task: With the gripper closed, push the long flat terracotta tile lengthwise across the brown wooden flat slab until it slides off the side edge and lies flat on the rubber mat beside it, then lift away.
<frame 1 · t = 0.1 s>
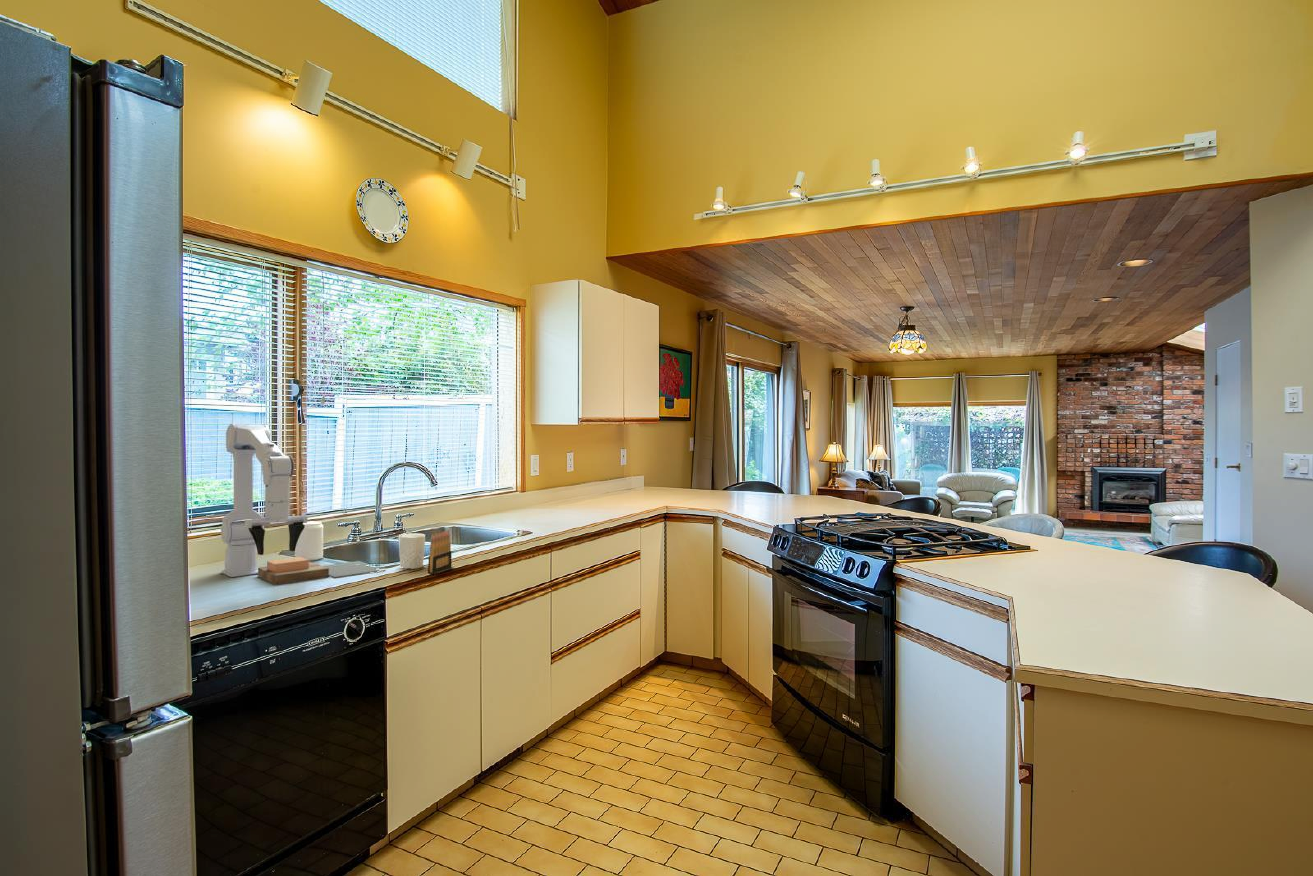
hand: (276, 552, 174), 10 cm above the worktop, fingers open, 7 cm apart
white cup: (411, 567, 207), on the worktop
mat: (347, 569, 200), on the worktop
beverage can: (309, 559, 215), on the worktop
ammunition clip: (440, 570, 203), on the worktop
brown wooden flat slab: (293, 576, 190), on the worktop
tile: (288, 564, 189), point 4 cm above the worktop, touching brown wooden flat slab
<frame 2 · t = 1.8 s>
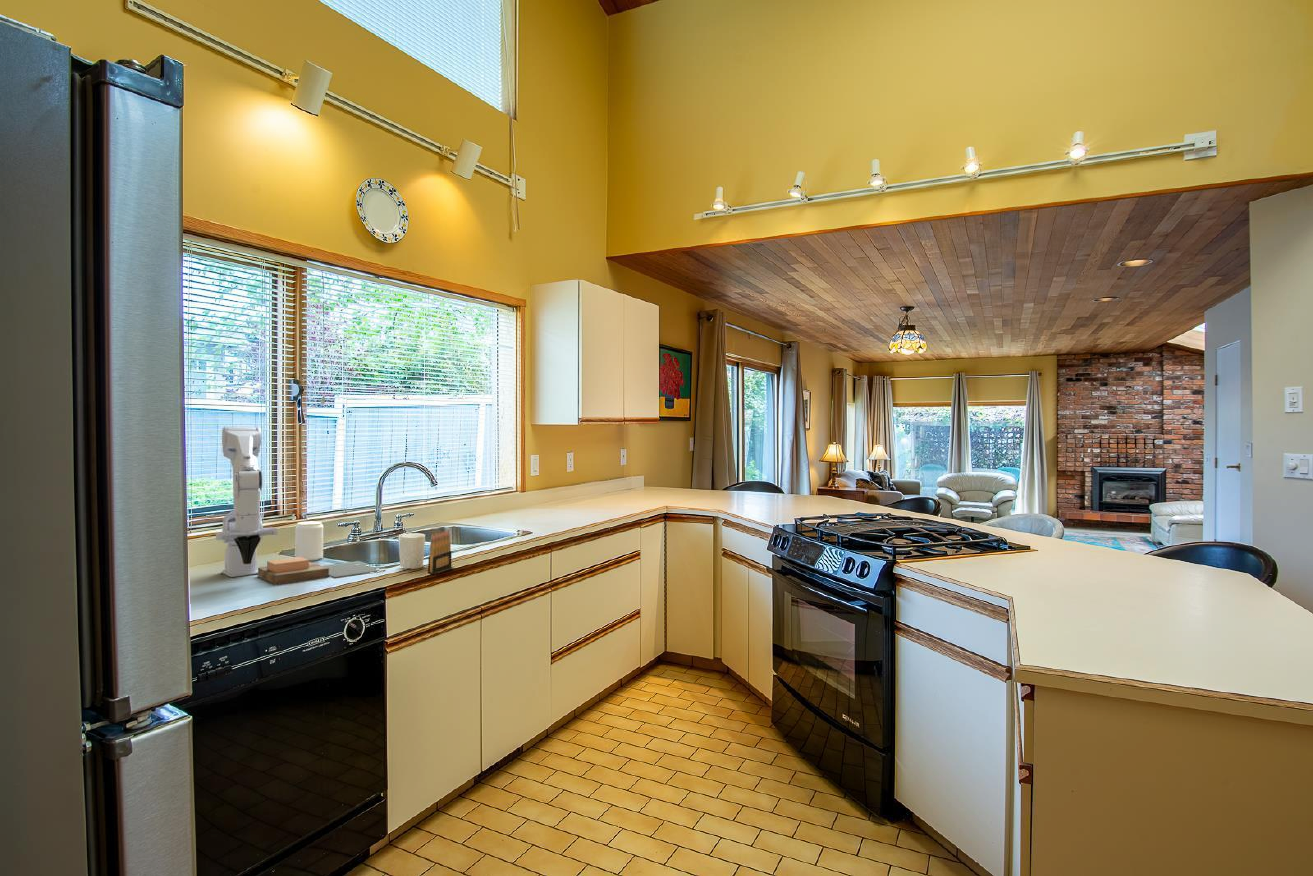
hand: (247, 563, 181), 5 cm above the worktop, fingers closed
nothing on the worktop moved.
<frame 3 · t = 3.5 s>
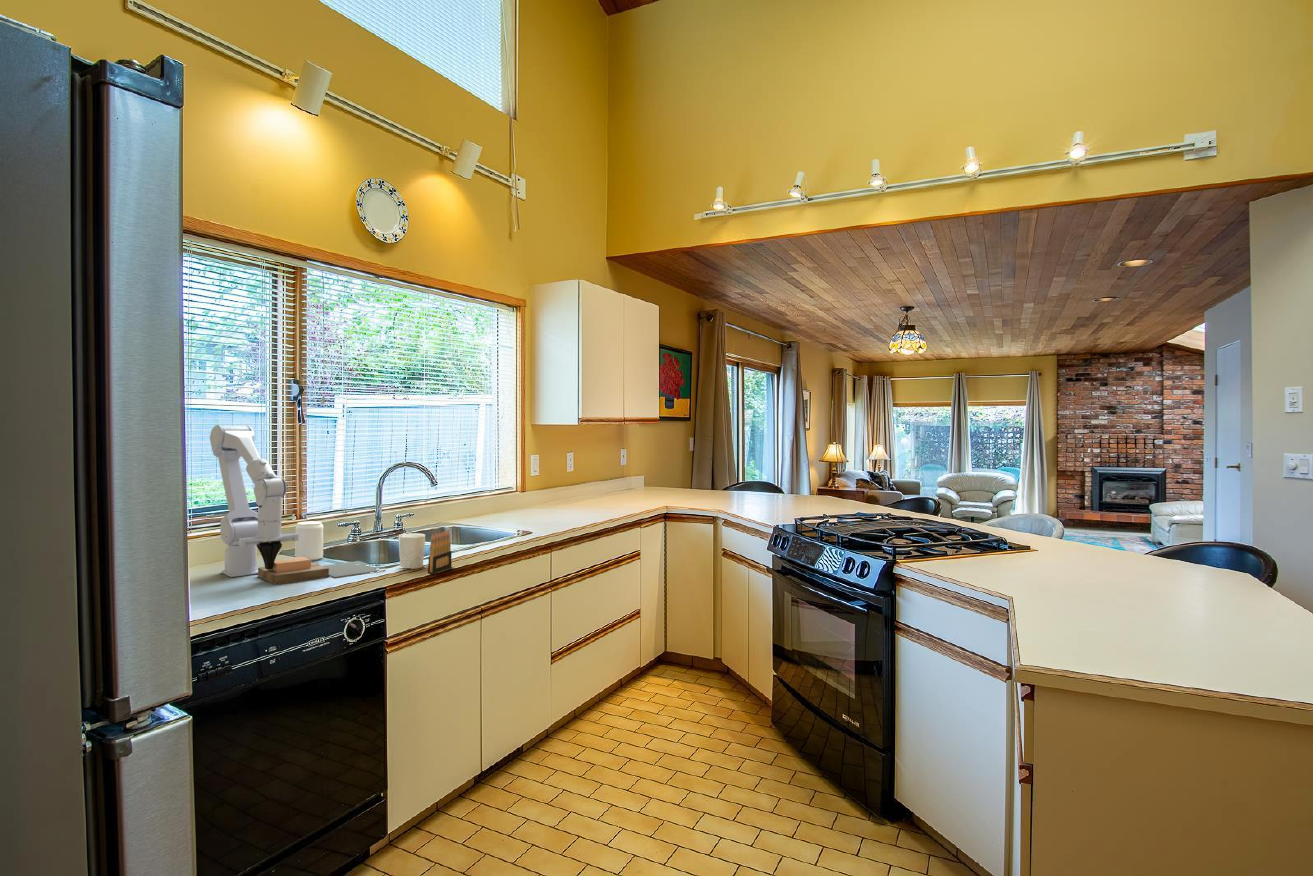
hand: (268, 568, 185), 3 cm above the worktop, fingers closed
tile: (290, 564, 189), point 4 cm above the worktop, touching brown wooden flat slab, gripper
everything else where it was.
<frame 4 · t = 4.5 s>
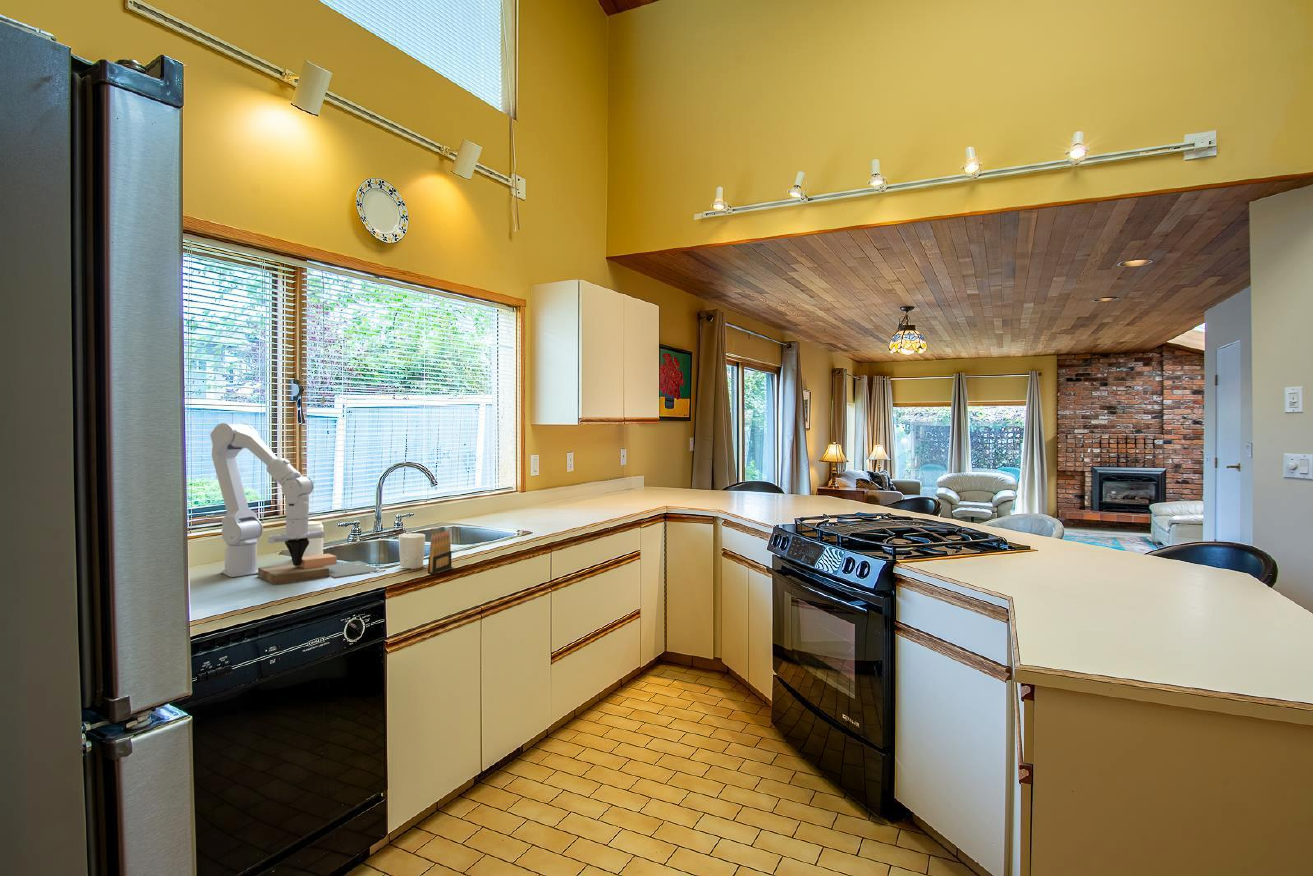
hand: (296, 565, 190), 3 cm above the worktop, fingers closed
tile: (316, 560, 195), point 4 cm above the worktop, touching brown wooden flat slab, gripper
everything else where it was.
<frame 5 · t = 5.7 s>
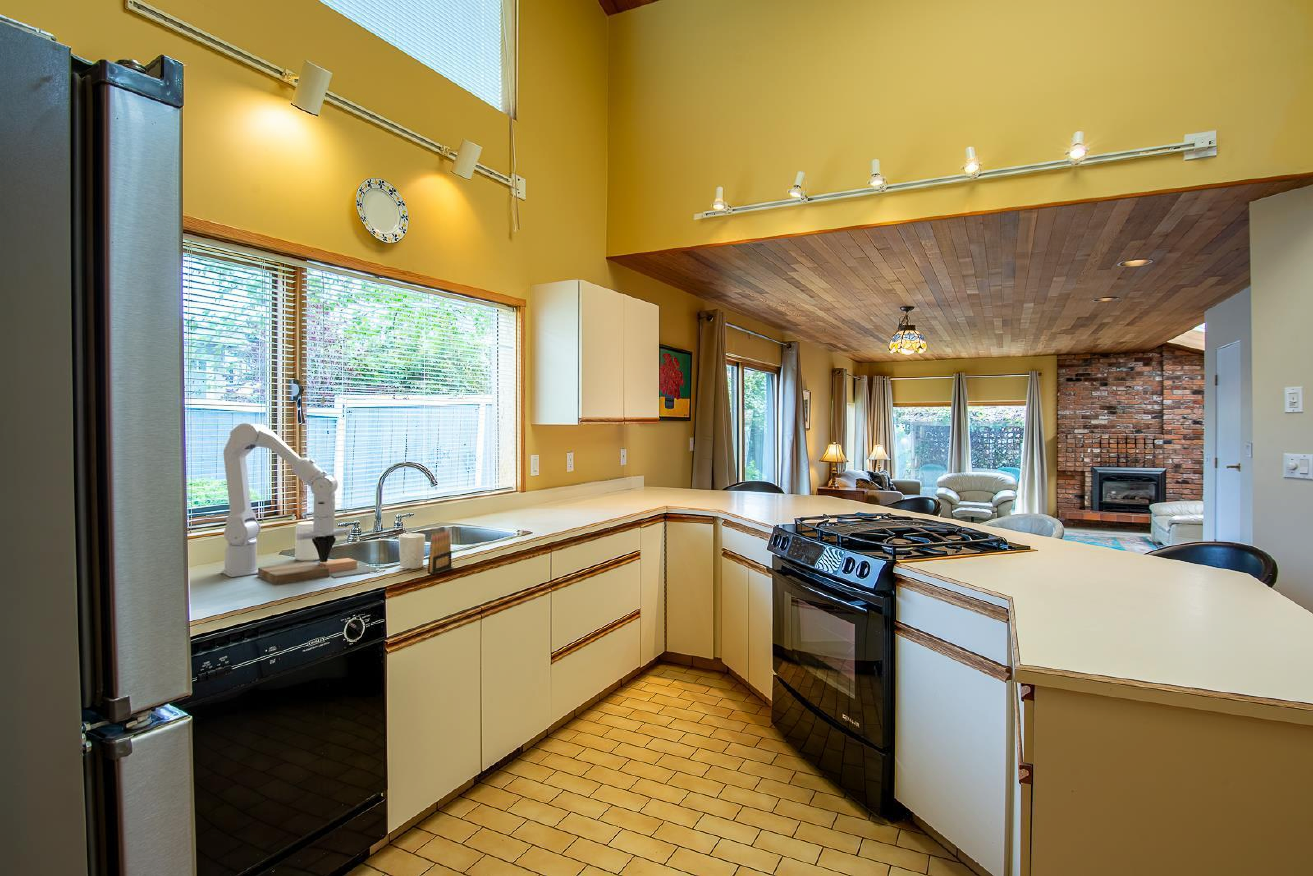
hand: (323, 561, 196), 3 cm above the worktop, fingers closed
tile: (337, 565, 199), point 2 cm above the worktop, touching mat
everything else where it was.
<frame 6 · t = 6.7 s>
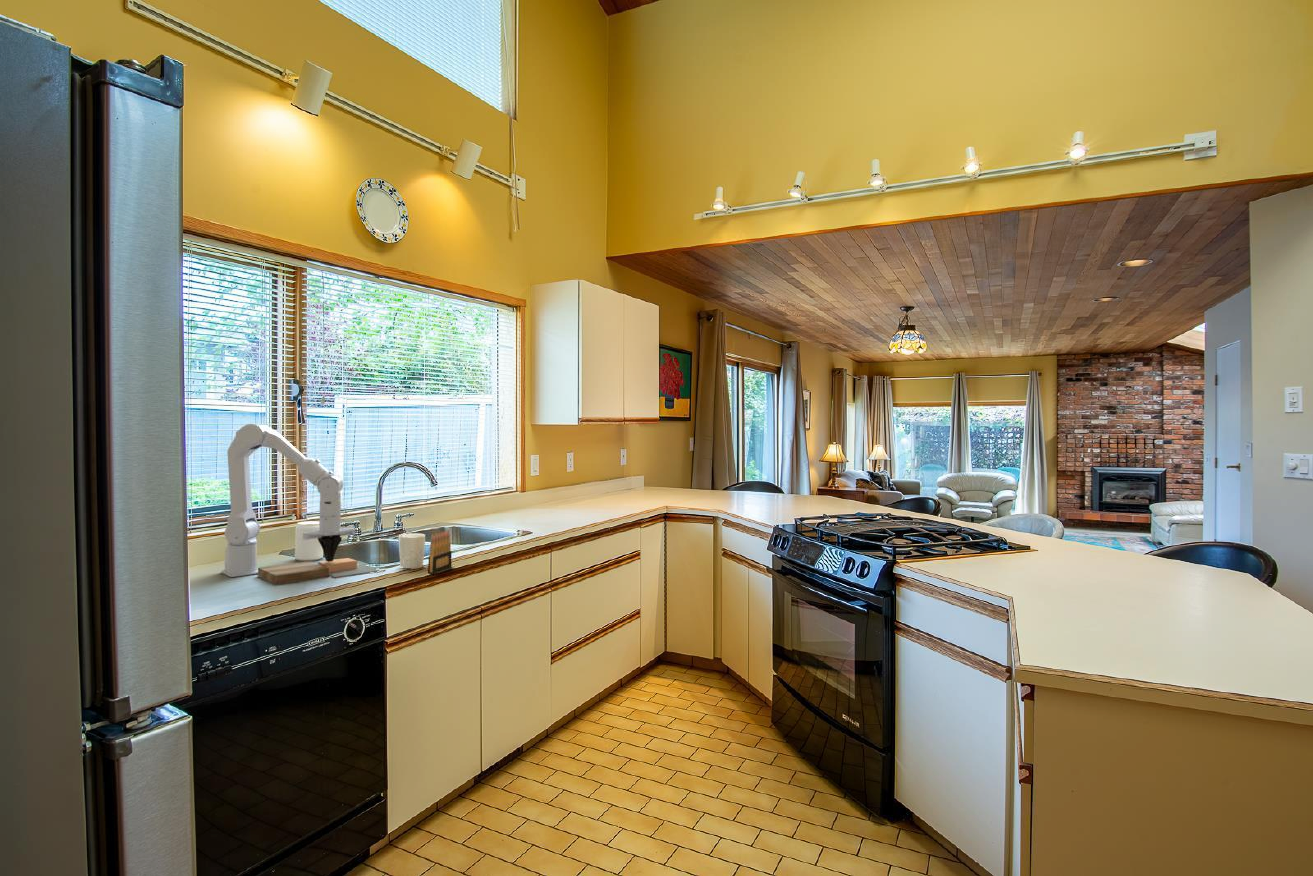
hand: (329, 561, 197), 3 cm above the worktop, fingers closed
nothing on the worktop moved.
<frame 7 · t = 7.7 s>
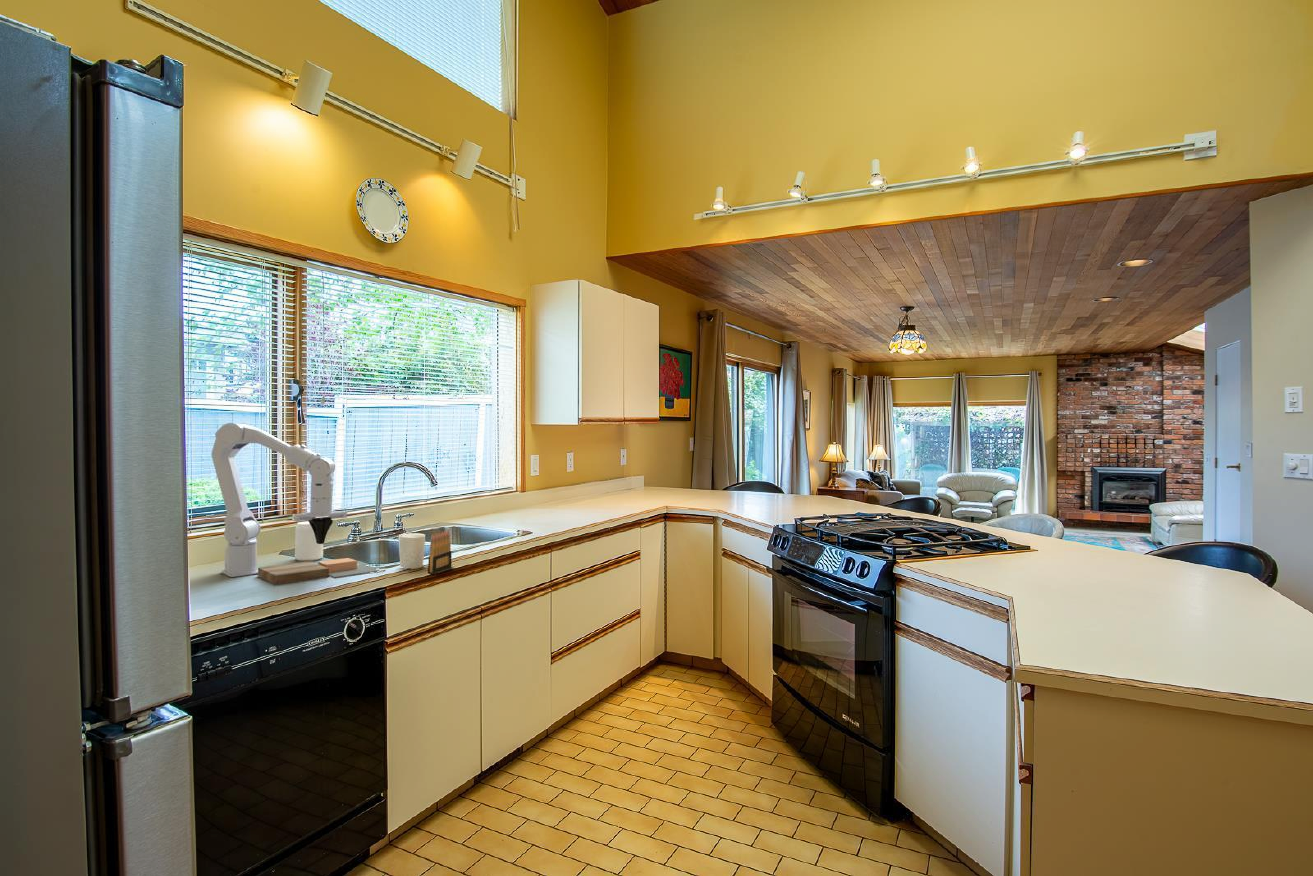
hand: (320, 543, 196), 9 cm above the worktop, fingers closed
nothing on the worktop moved.
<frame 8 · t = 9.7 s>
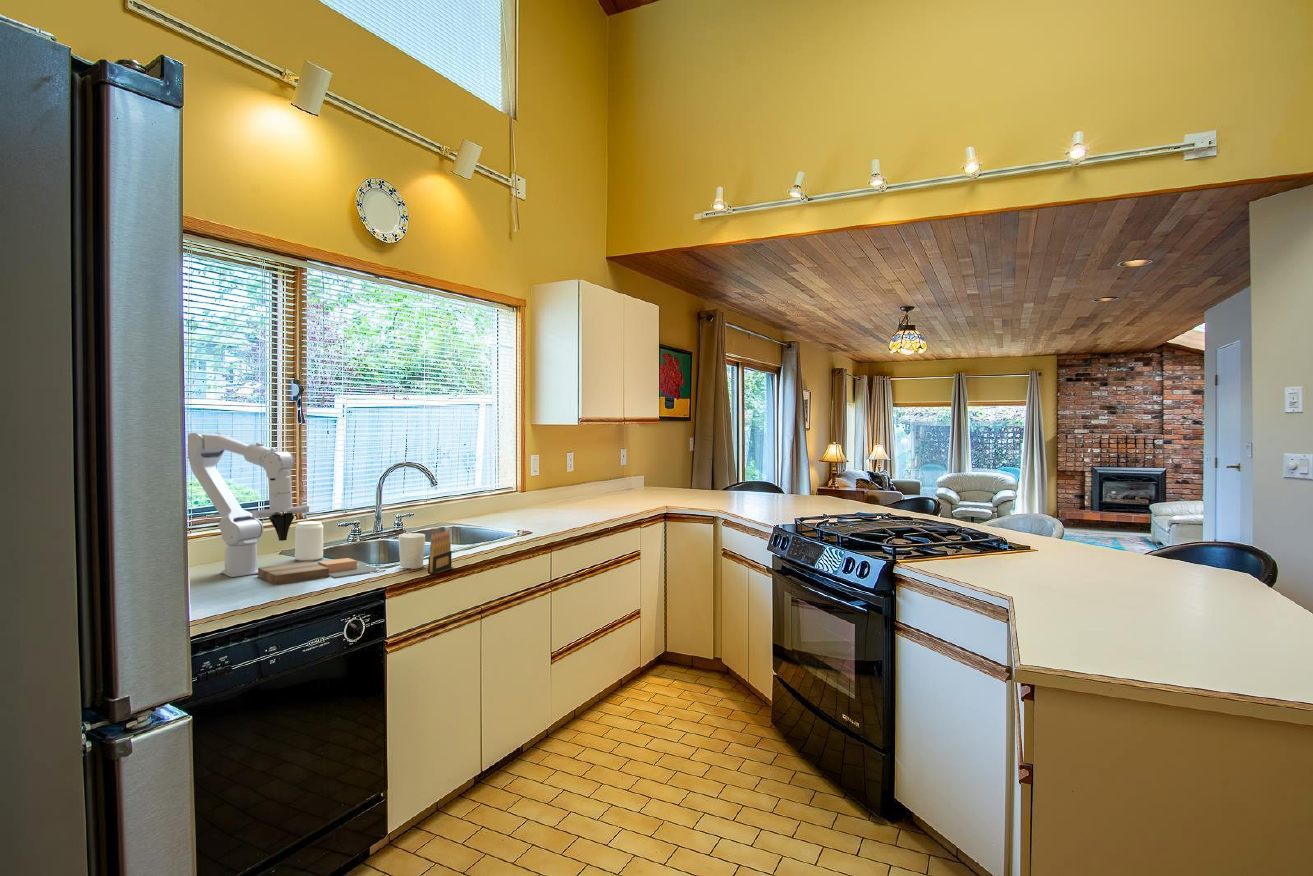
hand: (282, 540, 190), 10 cm above the worktop, fingers closed
nothing on the worktop moved.
at the end: tile inside the target area (2.8 cm from its centre), point 1.6 cm above the worktop; tile touching mat; tile tilted 0° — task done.
